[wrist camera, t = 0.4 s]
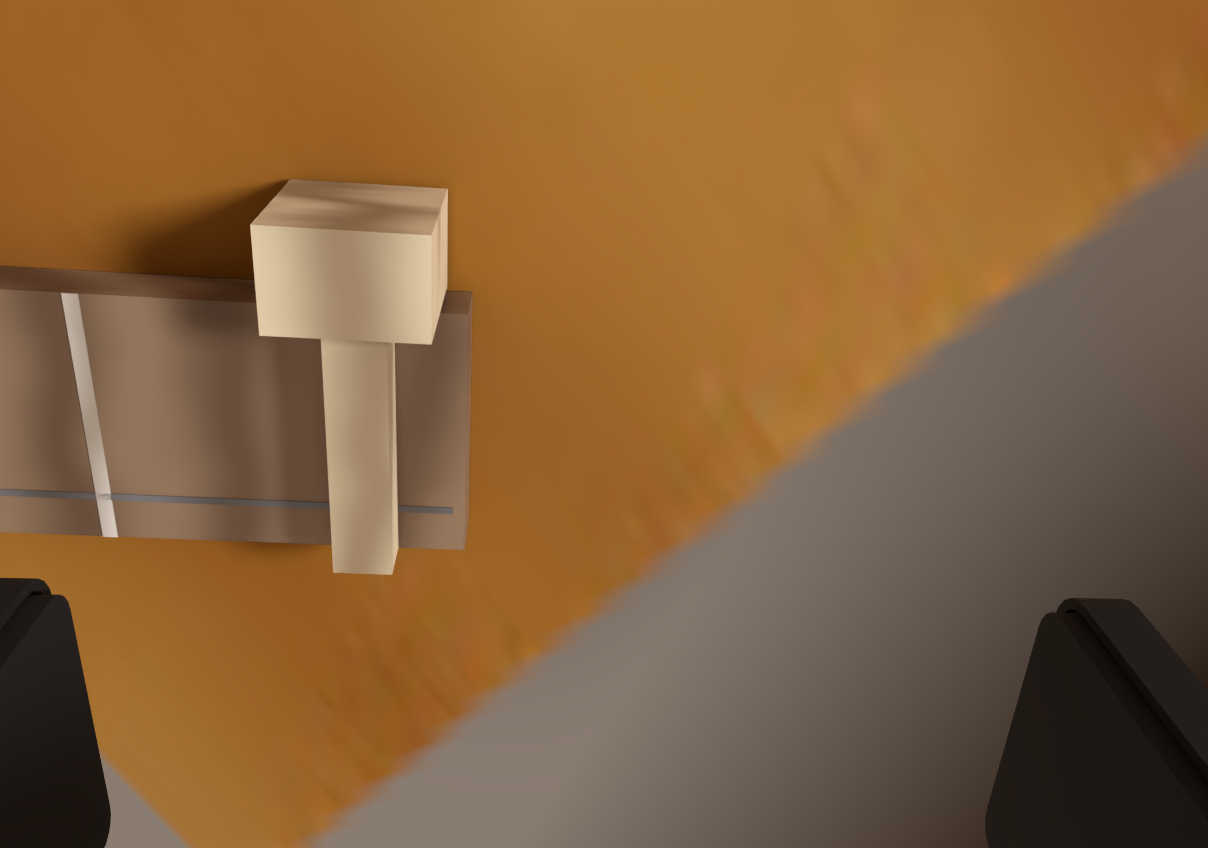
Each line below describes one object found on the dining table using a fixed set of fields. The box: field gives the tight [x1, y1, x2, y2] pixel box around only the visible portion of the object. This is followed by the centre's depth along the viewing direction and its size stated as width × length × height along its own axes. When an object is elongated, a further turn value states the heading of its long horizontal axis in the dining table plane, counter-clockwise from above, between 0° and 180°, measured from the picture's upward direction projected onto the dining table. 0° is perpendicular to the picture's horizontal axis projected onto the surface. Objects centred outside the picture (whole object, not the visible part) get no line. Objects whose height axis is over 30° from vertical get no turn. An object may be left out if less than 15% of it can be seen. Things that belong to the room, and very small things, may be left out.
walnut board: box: [0, 266, 472, 550], centre depth 44 cm, size 20×11×3 cm, turn 86°
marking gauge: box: [250, 179, 448, 575], centre depth 41 cm, size 6×15×6 cm, turn 176°
